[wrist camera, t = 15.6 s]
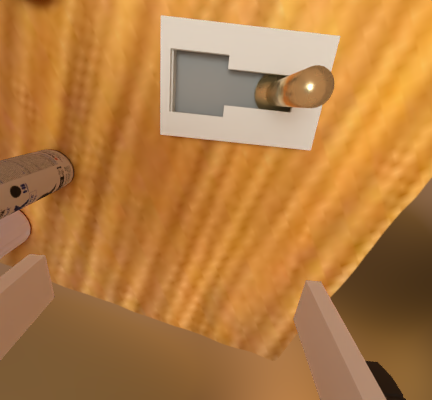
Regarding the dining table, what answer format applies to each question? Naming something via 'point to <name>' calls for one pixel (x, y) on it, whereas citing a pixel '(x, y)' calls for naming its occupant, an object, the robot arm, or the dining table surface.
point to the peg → (294, 89)
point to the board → (235, 81)
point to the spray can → (32, 178)
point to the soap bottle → (13, 232)
